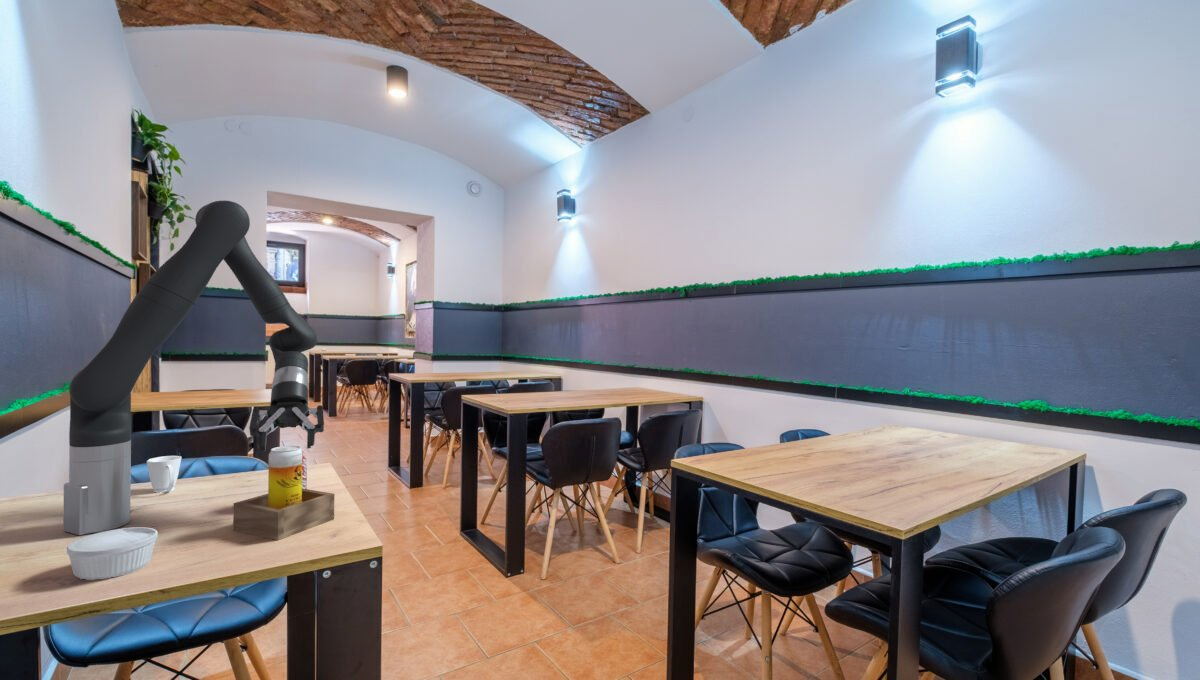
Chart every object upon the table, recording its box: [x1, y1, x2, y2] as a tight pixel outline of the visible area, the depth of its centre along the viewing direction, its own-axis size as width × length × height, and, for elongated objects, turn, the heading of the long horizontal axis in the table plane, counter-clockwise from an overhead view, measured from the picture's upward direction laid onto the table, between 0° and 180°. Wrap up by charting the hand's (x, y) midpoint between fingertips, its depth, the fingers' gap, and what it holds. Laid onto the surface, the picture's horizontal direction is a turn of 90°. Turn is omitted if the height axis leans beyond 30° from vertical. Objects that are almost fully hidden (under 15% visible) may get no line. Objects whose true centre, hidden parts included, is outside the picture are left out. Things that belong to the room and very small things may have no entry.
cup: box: [146, 455, 182, 494], centre depth 133 cm, size 7×10×8 cm
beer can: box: [267, 445, 303, 509], centre depth 111 cm, size 6×6×15 cm
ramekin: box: [66, 526, 159, 581], centre depth 89 cm, size 11×11×5 cm
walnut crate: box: [232, 488, 335, 541], centre depth 111 cm, size 13×13×6 cm
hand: (286, 447), depth 114 cm, fingers open, 8 cm apart
